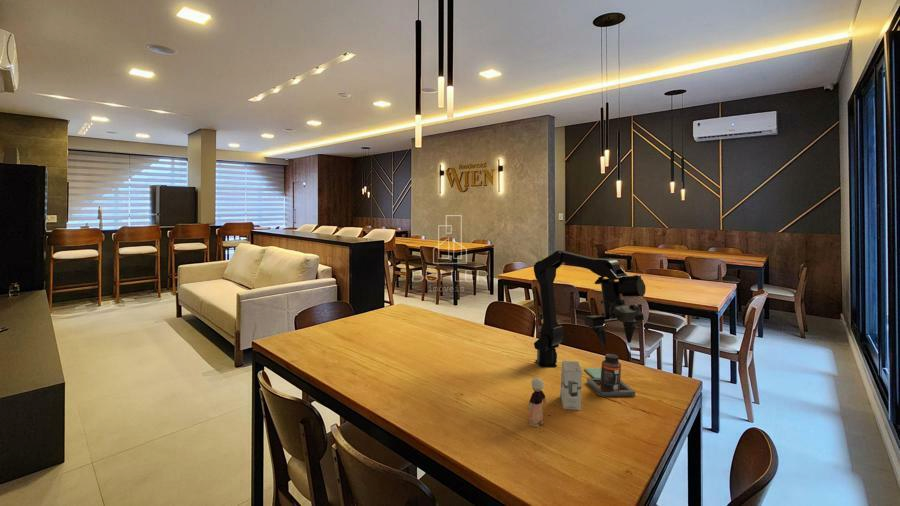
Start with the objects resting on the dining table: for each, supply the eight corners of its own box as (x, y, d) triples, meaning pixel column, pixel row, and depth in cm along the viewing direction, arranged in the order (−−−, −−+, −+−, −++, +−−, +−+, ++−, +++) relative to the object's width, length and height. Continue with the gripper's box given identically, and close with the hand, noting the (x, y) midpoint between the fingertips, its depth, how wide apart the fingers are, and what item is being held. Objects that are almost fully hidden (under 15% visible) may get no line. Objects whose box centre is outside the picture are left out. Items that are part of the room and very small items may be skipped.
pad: (595, 379, 142) (595, 378, 142) (584, 370, 151) (584, 368, 151) (620, 379, 143) (620, 377, 143) (608, 369, 152) (608, 368, 152)
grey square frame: (601, 396, 128) (601, 392, 128) (586, 382, 139) (587, 378, 139) (634, 396, 129) (635, 391, 129) (618, 382, 140) (618, 378, 140)
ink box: (559, 396, 128) (561, 359, 127) (576, 397, 128) (577, 360, 127) (563, 409, 120) (565, 369, 119) (580, 410, 119) (582, 371, 118)
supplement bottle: (621, 394, 131) (623, 359, 130) (601, 392, 132) (603, 357, 131) (617, 386, 137) (619, 353, 136) (599, 384, 138) (600, 351, 137)
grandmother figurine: (534, 416, 115) (536, 372, 114) (547, 420, 113) (549, 375, 112) (522, 427, 109) (524, 381, 107) (536, 432, 106) (538, 385, 105)
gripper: (600, 301, 126) (606, 352, 125) (653, 295, 130) (658, 344, 129) (581, 299, 137) (586, 346, 136) (630, 293, 141) (635, 339, 140)
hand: (616, 344), depth 135 cm, fingers open, 9 cm apart
